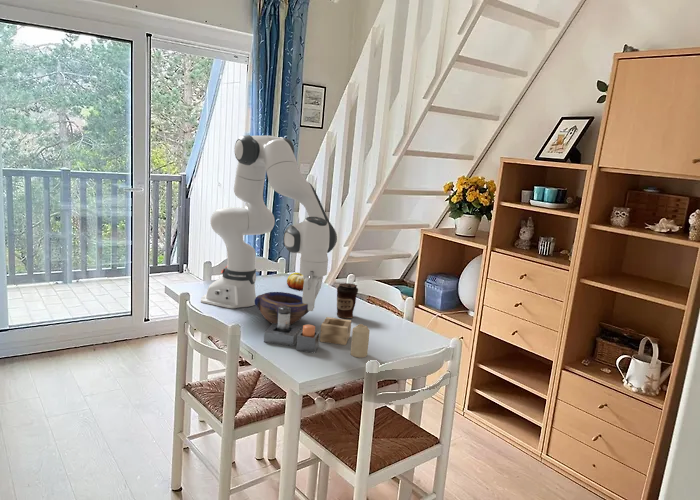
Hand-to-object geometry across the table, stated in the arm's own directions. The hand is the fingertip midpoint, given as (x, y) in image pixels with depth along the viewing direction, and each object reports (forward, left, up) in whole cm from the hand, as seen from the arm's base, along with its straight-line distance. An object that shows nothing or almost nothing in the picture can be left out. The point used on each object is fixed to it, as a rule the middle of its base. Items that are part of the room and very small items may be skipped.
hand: (310, 309), depth 172 cm
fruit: (-22, +72, -14) cm, 77 cm away
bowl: (-15, +22, -14) cm, 30 cm away
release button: (0, 0, -10) cm, 10 cm away
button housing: (0, 0, -13) cm, 13 cm away
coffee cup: (+6, +38, -14) cm, 41 cm away
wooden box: (+7, +12, -13) cm, 19 cm away
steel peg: (-10, +5, -13) cm, 18 cm away
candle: (+17, +1, -14) cm, 22 cm away
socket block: (-10, +5, -13) cm, 18 cm away
